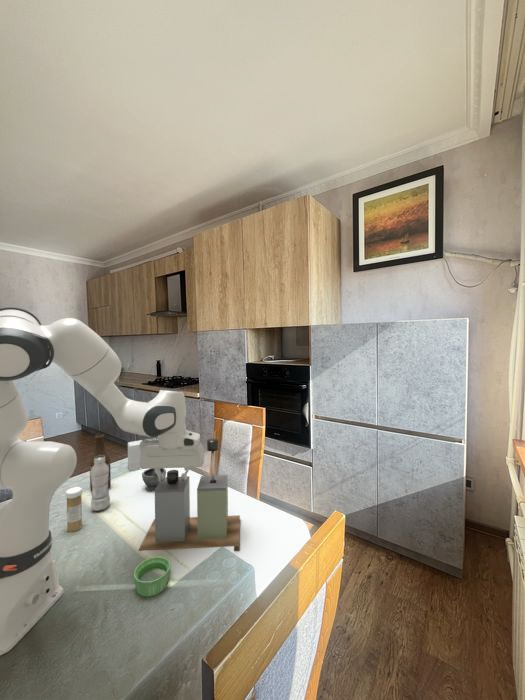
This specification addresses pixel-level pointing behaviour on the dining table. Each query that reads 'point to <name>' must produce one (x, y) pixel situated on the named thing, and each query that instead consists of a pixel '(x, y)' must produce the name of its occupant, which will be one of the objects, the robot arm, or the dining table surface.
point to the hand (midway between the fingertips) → (172, 480)
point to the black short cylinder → (172, 477)
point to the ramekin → (155, 585)
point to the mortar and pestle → (152, 478)
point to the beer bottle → (99, 451)
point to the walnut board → (194, 537)
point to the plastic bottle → (99, 484)
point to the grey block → (172, 510)
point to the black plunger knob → (212, 455)
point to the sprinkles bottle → (74, 509)
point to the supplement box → (134, 455)
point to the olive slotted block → (212, 507)
